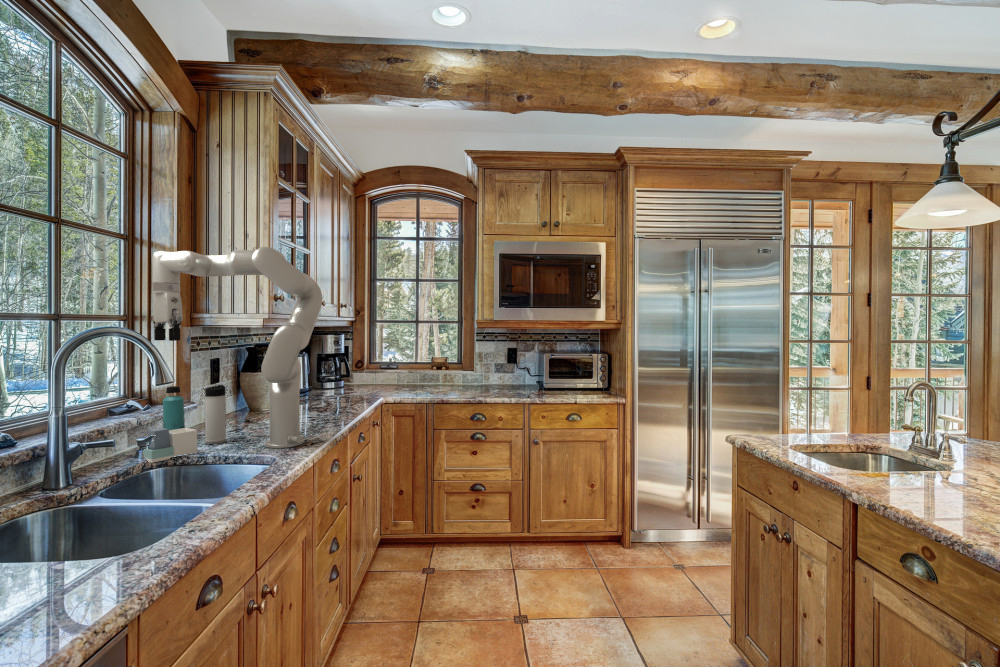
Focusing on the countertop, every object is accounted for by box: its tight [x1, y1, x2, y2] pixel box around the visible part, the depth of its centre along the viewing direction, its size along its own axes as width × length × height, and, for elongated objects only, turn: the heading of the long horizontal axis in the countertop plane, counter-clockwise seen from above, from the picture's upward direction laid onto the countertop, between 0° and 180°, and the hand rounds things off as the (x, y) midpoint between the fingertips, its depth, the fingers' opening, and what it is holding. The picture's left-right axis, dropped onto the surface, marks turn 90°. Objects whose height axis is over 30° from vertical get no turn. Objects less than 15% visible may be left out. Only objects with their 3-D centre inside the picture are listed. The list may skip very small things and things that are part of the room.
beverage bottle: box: [162, 385, 186, 431], centre depth 169 cm, size 6×7×20 cm
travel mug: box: [204, 384, 227, 445], centre depth 170 cm, size 6×7×20 cm
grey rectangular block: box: [147, 427, 169, 450], centre depth 149 cm, size 4×4×8 cm
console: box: [143, 427, 198, 464], centre depth 152 cm, size 7×13×8 cm, turn 149°
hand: (167, 340), depth 161 cm, fingers open, 9 cm apart
